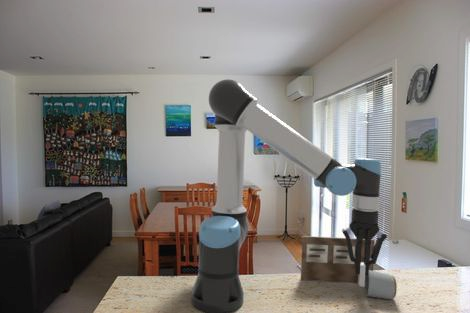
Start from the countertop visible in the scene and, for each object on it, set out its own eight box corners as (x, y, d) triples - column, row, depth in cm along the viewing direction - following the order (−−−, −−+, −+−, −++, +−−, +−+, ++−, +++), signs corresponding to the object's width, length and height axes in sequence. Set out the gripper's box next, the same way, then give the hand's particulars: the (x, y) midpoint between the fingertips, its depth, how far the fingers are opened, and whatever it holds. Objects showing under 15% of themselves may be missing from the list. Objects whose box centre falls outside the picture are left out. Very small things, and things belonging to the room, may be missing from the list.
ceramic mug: (397, 304, 93) (398, 278, 93) (367, 300, 95) (368, 275, 95) (388, 289, 103) (389, 266, 103) (361, 285, 105) (362, 263, 105)
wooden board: (301, 280, 108) (303, 236, 107) (300, 279, 109) (302, 236, 108) (372, 284, 107) (375, 240, 106) (371, 282, 108) (373, 239, 107)
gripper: (384, 208, 99) (380, 282, 100) (341, 205, 102) (338, 277, 103) (391, 213, 92) (386, 292, 93) (344, 209, 94) (340, 287, 95)
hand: (361, 284), depth 98 cm, fingers closed
